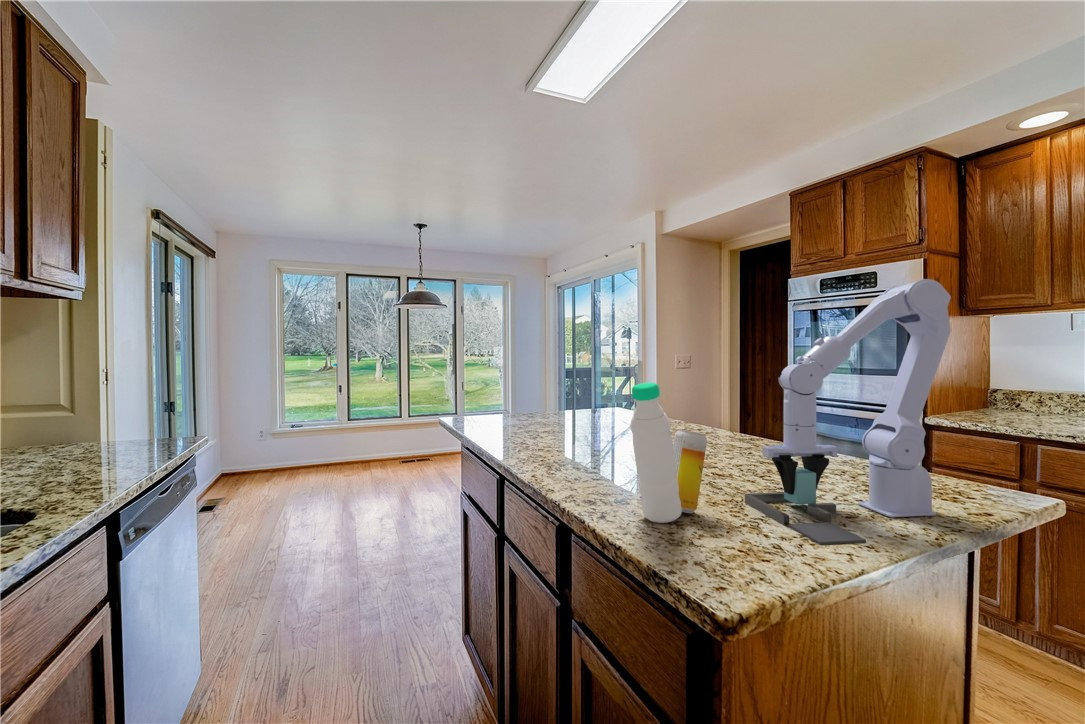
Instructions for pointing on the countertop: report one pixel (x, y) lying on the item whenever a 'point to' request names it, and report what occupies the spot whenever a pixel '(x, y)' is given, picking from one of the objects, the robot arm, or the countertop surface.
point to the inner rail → (821, 511)
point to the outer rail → (761, 505)
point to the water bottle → (654, 456)
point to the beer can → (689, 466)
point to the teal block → (803, 487)
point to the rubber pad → (826, 533)
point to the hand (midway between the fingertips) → (799, 492)
